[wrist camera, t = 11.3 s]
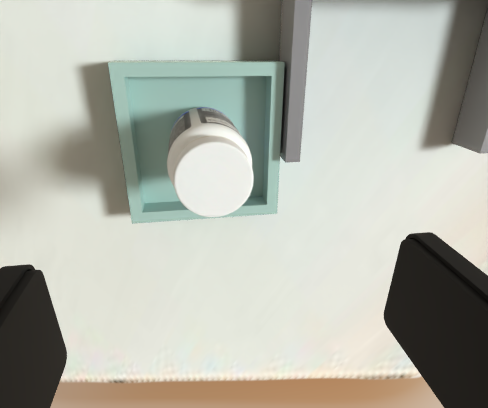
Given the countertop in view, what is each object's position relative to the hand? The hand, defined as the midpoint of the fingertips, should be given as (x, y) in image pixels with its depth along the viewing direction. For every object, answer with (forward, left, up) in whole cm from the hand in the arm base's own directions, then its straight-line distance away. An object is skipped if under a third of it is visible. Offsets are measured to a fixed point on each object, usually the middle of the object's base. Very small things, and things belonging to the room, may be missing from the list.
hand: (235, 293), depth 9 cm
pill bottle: (0, 0, -17) cm, 17 cm away
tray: (0, 0, -18) cm, 18 cm away
